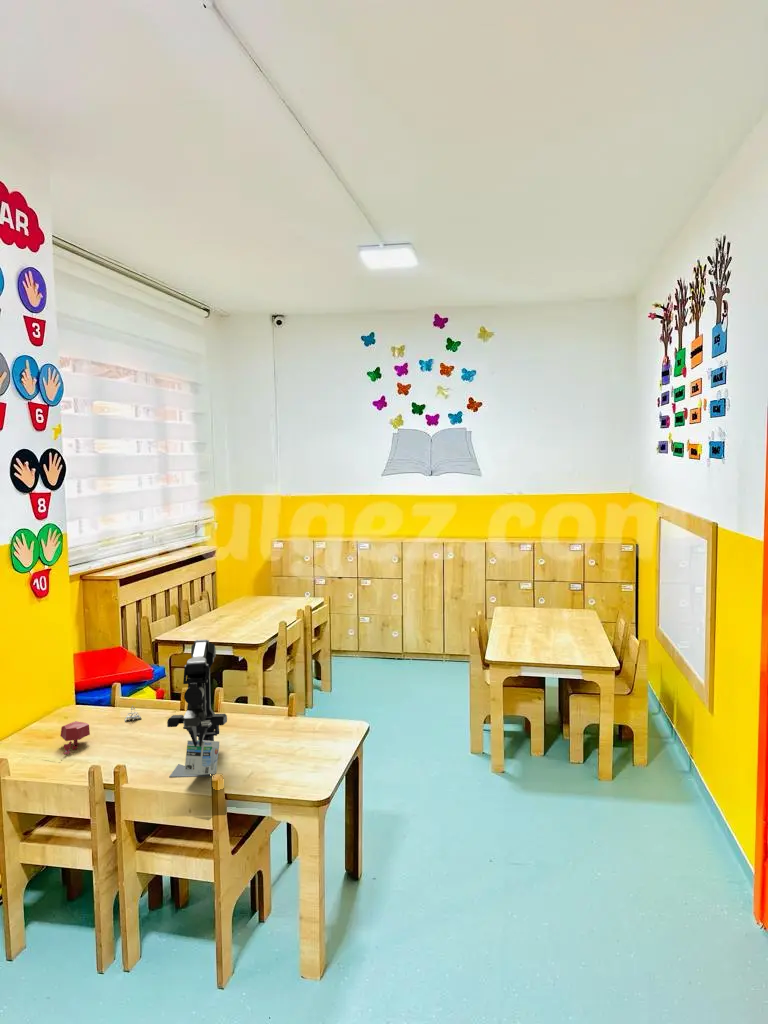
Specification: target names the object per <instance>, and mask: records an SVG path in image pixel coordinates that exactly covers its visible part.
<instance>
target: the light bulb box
mask: <svg viewBox="0 0 768 1024" xmlns="http://www.w3.org/2000/svg"><path fill="white" fill-rule="evenodd" d="M219 748H220V741H219V740H217V741H216V740H214V741H207V740H203V743H202V746H201V747H200V746H199V740H198V739H197V746H196V747H195V746H194V744H193V741H192V740H187V745H186V752H185V753H186V754H185V763H184V766H185V770H184V774H195V775H205V774H214V775H216V774H217V770H218V760H219V750H220V749H219ZM215 773H216V774H215Z"/></svg>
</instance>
